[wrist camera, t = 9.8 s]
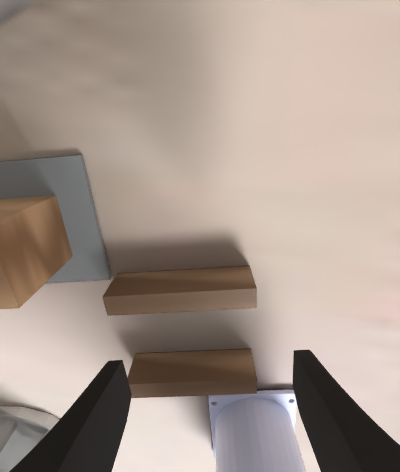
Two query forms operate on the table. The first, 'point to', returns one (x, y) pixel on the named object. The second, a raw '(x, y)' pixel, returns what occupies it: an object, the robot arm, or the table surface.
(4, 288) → the oak block
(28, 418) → the vase
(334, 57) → the table surface
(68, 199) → the slate mat
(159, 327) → the table surface
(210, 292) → the shelf slot
